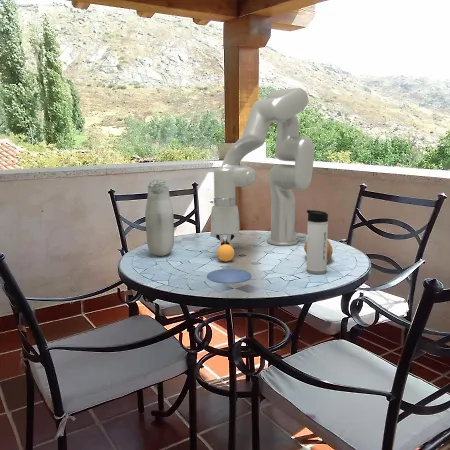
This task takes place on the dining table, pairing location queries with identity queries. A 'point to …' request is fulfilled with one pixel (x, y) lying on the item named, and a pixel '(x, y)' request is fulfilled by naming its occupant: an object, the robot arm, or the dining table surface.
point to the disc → (229, 275)
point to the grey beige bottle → (159, 219)
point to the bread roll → (329, 250)
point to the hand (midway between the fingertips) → (225, 252)
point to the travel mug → (317, 242)
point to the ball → (225, 252)
